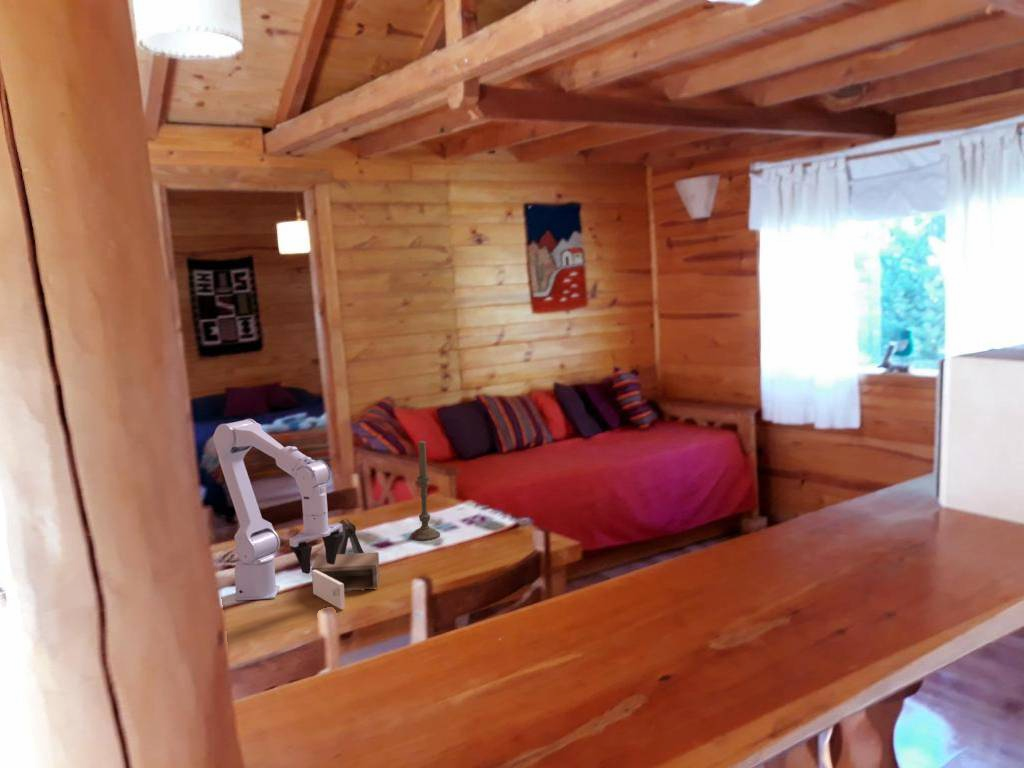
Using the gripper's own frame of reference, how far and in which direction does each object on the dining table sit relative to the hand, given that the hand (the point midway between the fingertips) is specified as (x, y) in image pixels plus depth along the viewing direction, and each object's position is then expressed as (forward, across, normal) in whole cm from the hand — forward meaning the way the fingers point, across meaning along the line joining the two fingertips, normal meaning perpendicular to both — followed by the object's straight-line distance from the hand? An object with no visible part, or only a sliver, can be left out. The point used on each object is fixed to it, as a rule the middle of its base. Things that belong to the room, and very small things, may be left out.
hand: (318, 568), depth 201 cm
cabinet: (+10, +14, +6) cm, 18 cm away
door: (+9, +2, +1) cm, 10 cm away
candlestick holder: (+10, +56, +17) cm, 59 cm away
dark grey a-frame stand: (+10, +25, +18) cm, 32 cm away
